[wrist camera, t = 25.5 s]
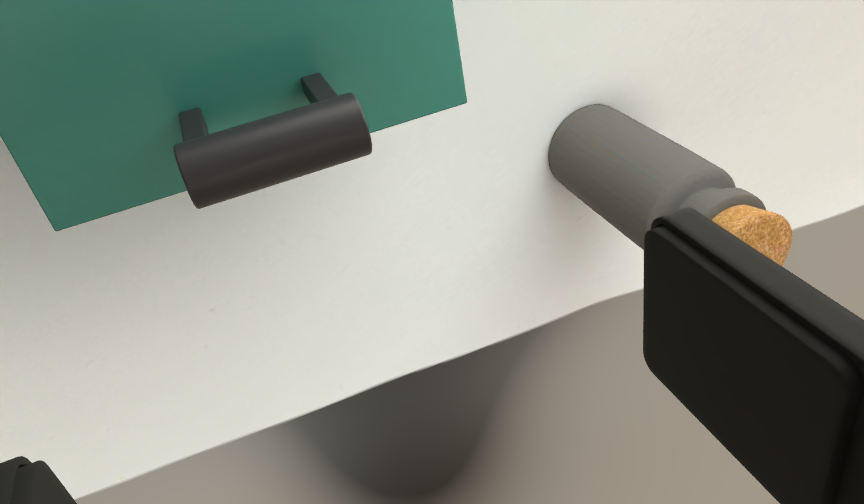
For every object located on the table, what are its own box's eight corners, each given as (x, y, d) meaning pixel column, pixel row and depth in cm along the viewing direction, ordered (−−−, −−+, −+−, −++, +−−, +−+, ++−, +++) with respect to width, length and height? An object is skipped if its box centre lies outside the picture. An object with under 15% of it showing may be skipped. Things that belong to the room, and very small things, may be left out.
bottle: (536, 133, 43) (692, 247, 31) (613, 86, 43) (798, 180, 31) (562, 203, 46) (711, 329, 34) (633, 158, 47) (806, 268, 35)
